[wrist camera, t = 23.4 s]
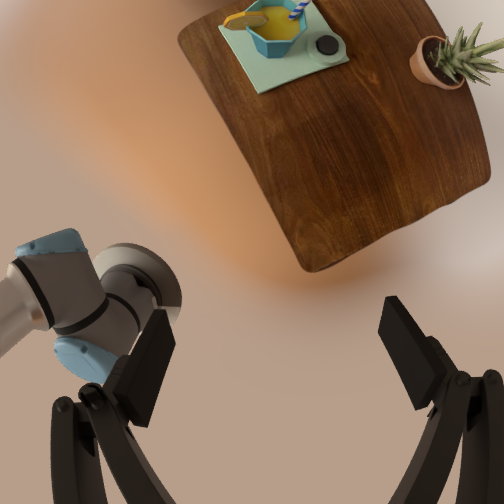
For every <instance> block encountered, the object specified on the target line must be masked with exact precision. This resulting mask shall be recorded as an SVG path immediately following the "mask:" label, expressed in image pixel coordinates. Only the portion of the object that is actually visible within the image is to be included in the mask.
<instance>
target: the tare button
mask: <svg viewBox="0 0 504 504" xmlns="http://www.w3.org/2000/svg"><path fill="white" fill-rule="evenodd" d="M317 47H318V49H319V51H320V52H322V53H323V54H326V55H331V54H333V53H335V51H336V50H337V49H338V48H339V42H338V40H337V39H336V38H335V37H333V36H331V35H324V36H322V37H321V38H320V39H319V41H318V43H317Z"/></svg>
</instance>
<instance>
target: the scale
mask: <svg viewBox="0 0 504 504" xmlns="http://www.w3.org/2000/svg"><path fill="white" fill-rule="evenodd" d="M291 1H292V2H294V3H295V4H297V5H299V4H300V3H301V2H302V0H291ZM304 10H305V15H306V21H307V27H308V28H307V30H306V31H305V32H303V33H302V34H301V35H300V36H299V37H298V39H297V40H296V42H295V43H294V45H293V46H292V47H291V49H290V50H289V51H288V52H287V53H286V54H285V55H284V56H283V57H282V58H272V59H267V58H266V57H265V56H263V55H262V54H260V53H259V52H258V51H257V49H256V46H255V44H254V41H253V38H252V36H251V34H250V33H249V32H248V31H247V30H236V31H232V30H229V29H227V28H225V27H224V25H223V24H222V25H220V26H218V28H219V30H220V31H221V33H222V34H223V36H224V38H225V39H226V41H227V42H228V44H229V45H230V47H231V49H232V50H233V52H234V54H235V55H236V57H237V59H238V60H239V62H240V64H241V65H242V67H243V69H244V70H245V72H246V74H247V76H248V77H249V79H250V81H251V82H252V84H253V86H254V88H255V90H256V91H257V93H258V95H259V94H261V93H264V92H266V91H268V90H270V89H273V88H275V87H278V86H280V85H282V84H285V83H287V82H290V81H292V80H295V79H298V78H300V77H303V76H306V75H308V74H311V73H314V72H317V71H320V70H323V69H326V68H329V67H332V66H335V65H338V64H341V63H345V62H347V61H349V58H348V57H347V55H346V45H345V43H344V42H343V40H342V38H341V37H340V36H338V35H337V34H335V33H334V32H332V30H331V29H330V27H329V25H328V24H327V22H326V21H325V19H324V18H323V16H322V15H321V14H320V12H319V11H318V9H317V8H316V7H315V5H314V4H313V2H312V1H311V2H310V3H309V4H308V5H307V6H306V7H305V8H304ZM324 35H331V36H333V37H335V38H336V39H337V40H338V42H339V48H338V49H337V50H336V51H335V53H333V54H331V55H326V54H323V53H322V52H320V51H319V49H318V47H317V43H318V41H319V39H320V38H321V37H322V36H324Z"/></svg>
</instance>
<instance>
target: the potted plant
mask: <svg viewBox="0 0 504 504" xmlns="http://www.w3.org/2000/svg"><path fill="white" fill-rule="evenodd" d="M481 26H482V22H481V23H480V24H479V25H478V26H477V27H476V29H475V30H474V32H473V33H472V35H471V36H470V38H469V40H468V41H467V43H466V39H467V36H466V37H465V38H464V39H463V32H464V30H463V31H462V28H463V26H461V27H460V28H459V30H458V33H457V35H456V37H455V40H454V43H453V45H451V44H450V43H449V42H448V36H447V38H446V40H444V39H442V38H440V37H438V36H428V37H426V38H425V39H423V40H421V41H420V42H419V44H418V47H417V51H416V52H415V54H414V55H413V56H412V57H411V58H410V67H411V70H412V73H413V74H414V76H415V77H416V78H417V79H418V80H419V81H420V82H423V83H425V84H431V85H437V86H439V87H441V88H443V89H448V90H450V89H456V88H459V87H461V85H462V84H463V82H464V79H465V77H466V78H467V79H469V80H471V81H472V82H474V83H476V82H475V81H474V80H477V81H480V82H482V83H484V84H486V85H489V86H490V84H488V83H486V82H484V81H482V80H481V79H479V78H478V77H476V76H475V75H477V76H479V77H481V78H484V79H487V80H490V79H489V78H487V77H485V76H484V75H482V74H481V73H479V72H478V71H477V70H479V71H485V72H491V73H496V72H501V73H504V70H503V69H500V68H498V67H496V66H494V65H491V63H497V62H498V61H495V60H491V59H486V58H482V57H481V56H483V55H485V54H488V53H491V52H493V51H496V50H499V49H502V48H504V38H503V39H499V40H496V41H493V42H490V43H487V44H483V45H480V46H477V47H475V46H474V45H475V40H476V37H477V35H478V33H479V31H480V28H481ZM465 44H466V45H465ZM471 73H473V74H475V75H473V74H471Z"/></svg>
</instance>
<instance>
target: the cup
mask: <svg viewBox="0 0 504 504" xmlns="http://www.w3.org/2000/svg"><path fill="white" fill-rule="evenodd" d="M311 1H312V0H302V2H301V3H300V4H299V5H297V4H295V3H294V2H292V1H291V0H257V1H256V2H255V3H254V4H252V5H251V6H250V7H249V8H248V9H246V10H245V11H244V12H241V13H238V14H234V15H231V16H228V17H227V19H226V20H225V21H224V23H223V25H224V27H225V28H227V29H229V30H232V31H236V30H247V31H248V32H249V33H250V34H251V36H252V38H253V41H254V44H255V46H256V49H257V51H258V52H259V53H260V54H262V55H263V56H265V57H266V58H267V59H272V58H282V57H283V56H284V55H285V54H286V53H287V52H288V51H289V50H290V49H291V47H292V46H293V45H294V43H295V42H296V40H297V39H298V37H299V36H300V35H301V34H302V33H303V32H305V31H306V30H307V28H308V27H307V21H306V15H305V10H304V8H305V7H306V6H307V5H308V4H309V3H310V2H311Z"/></svg>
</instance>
